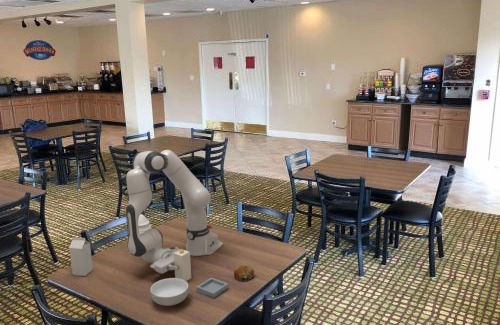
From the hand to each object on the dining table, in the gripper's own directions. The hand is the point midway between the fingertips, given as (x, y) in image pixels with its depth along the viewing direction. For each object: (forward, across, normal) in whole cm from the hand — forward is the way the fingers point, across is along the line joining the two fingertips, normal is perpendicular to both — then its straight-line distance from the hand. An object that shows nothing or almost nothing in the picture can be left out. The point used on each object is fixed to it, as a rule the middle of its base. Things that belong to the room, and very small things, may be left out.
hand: (183, 265), depth 207 cm
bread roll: (+22, +18, +8) cm, 30 cm away
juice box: (-1, 0, +8) cm, 8 cm away
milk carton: (-49, -24, +8) cm, 55 cm away
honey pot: (-55, +20, +8) cm, 59 cm away
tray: (+18, 0, +8) cm, 20 cm away
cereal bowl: (+9, -18, +8) cm, 21 cm away
